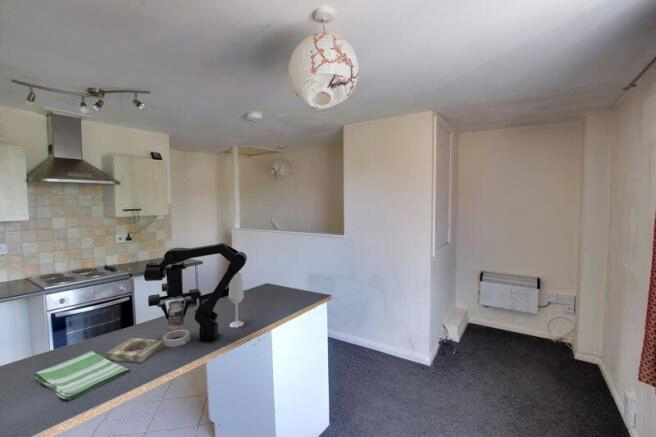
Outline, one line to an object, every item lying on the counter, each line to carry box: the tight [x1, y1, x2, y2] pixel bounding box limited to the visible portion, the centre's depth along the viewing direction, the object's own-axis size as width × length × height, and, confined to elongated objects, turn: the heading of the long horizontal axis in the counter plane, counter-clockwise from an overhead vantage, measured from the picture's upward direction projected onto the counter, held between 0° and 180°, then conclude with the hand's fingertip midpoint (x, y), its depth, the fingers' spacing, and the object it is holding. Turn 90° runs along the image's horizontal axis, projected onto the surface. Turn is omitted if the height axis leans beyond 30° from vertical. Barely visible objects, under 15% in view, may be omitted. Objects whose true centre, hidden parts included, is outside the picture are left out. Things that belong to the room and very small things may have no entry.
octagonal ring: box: [162, 329, 191, 348], centre depth 125 cm, size 10×10×2 cm
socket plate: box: [105, 337, 165, 364], centre depth 116 cm, size 14×12×2 cm
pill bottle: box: [167, 300, 185, 330], centre depth 124 cm, size 6×6×10 cm
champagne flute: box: [228, 271, 245, 328], centre depth 141 cm, size 7×7×24 cm
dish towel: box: [33, 350, 131, 401], centre depth 101 cm, size 18×23×3 cm
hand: (175, 317), depth 124 cm, fingers closed on pill bottle, 6 cm apart
